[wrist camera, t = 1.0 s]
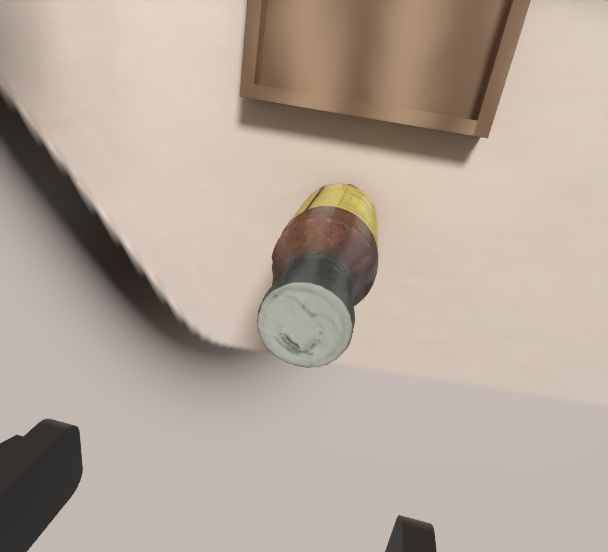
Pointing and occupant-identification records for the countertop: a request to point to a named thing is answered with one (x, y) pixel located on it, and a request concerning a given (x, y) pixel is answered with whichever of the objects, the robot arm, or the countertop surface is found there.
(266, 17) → the walnut tray
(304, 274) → the sauce bottle
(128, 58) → the countertop surface
